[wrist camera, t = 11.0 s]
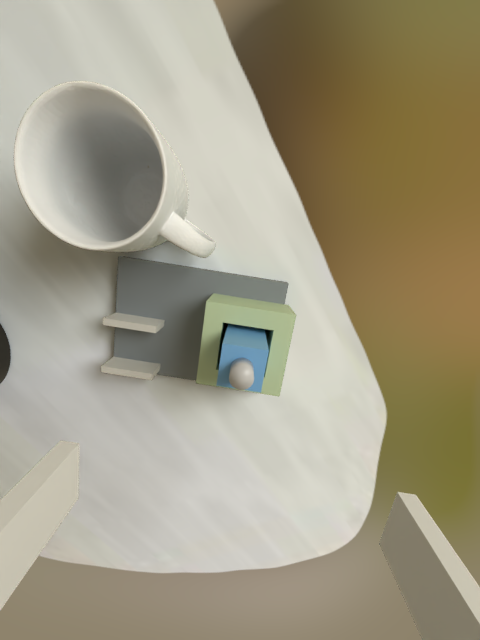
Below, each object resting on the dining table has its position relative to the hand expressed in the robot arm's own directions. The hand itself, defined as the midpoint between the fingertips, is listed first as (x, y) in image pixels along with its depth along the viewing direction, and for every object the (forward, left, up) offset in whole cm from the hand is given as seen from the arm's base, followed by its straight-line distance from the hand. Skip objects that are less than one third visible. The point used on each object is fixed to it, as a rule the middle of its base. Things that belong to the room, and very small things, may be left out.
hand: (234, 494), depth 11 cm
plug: (0, 0, -23) cm, 23 cm away
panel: (-6, 0, -24) cm, 25 cm away
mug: (-12, +13, -25) cm, 30 cm away
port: (0, 0, -23) cm, 23 cm away
